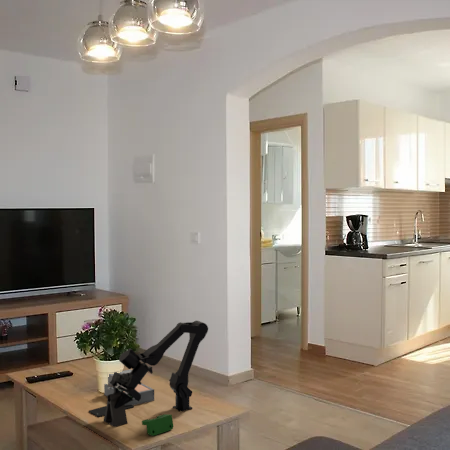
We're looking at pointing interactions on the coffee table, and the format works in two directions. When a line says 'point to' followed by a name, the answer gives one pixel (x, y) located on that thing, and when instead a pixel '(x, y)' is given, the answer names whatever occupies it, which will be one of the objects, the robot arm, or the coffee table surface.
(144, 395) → the flap frame
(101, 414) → the cell phone
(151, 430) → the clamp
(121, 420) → the phone stand
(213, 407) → the coffee table surface
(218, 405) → the coffee table surface
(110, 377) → the flap
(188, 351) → the robot arm
